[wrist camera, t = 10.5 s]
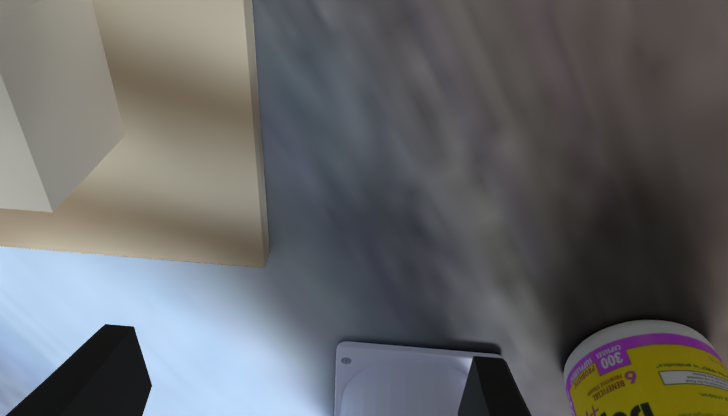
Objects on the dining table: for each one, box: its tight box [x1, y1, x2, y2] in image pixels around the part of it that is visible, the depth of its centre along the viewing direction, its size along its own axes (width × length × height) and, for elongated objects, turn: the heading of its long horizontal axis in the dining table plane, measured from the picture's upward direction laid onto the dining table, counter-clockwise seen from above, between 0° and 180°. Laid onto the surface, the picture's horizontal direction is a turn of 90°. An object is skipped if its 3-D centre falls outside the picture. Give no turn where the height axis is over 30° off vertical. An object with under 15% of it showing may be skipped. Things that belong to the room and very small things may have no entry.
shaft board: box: [0, 0, 270, 268], centre depth 16 cm, size 16×14×4 cm
